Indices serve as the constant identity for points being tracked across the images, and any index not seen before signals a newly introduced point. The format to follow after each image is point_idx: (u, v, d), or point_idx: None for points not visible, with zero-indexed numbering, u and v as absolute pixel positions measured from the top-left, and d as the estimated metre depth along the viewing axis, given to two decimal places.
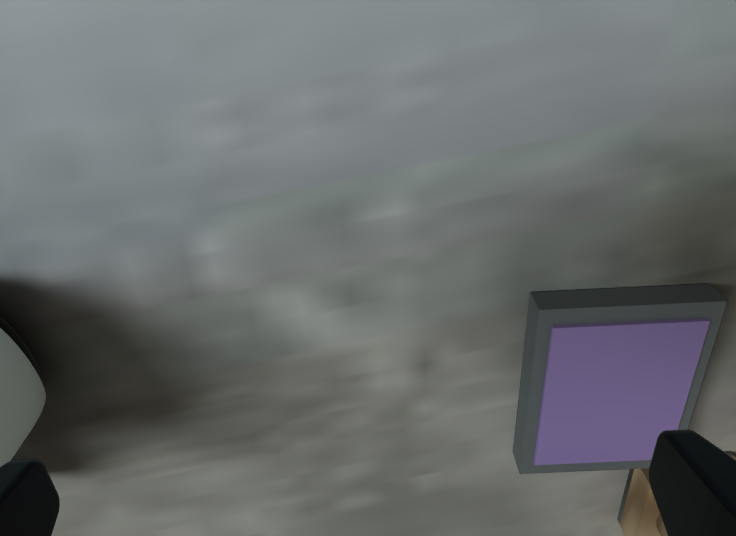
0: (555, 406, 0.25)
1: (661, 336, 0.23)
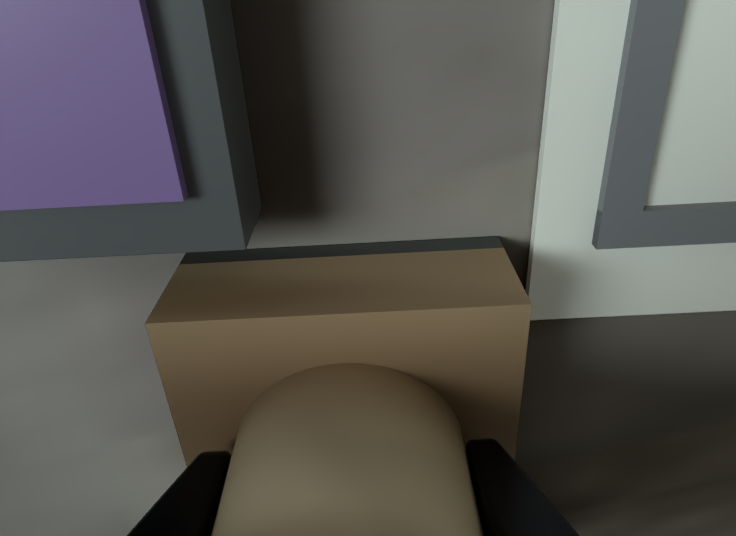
0: None
1: None
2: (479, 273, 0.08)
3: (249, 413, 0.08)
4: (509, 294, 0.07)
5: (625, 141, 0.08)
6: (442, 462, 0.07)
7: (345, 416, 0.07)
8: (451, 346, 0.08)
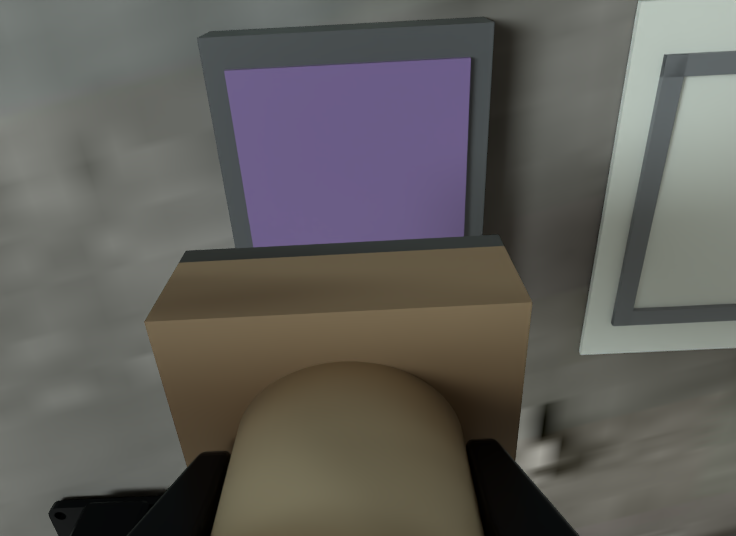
0: (268, 220, 0.17)
1: (399, 88, 0.15)
2: (479, 271, 0.08)
3: (249, 412, 0.08)
4: (510, 292, 0.07)
5: (625, 285, 0.19)
6: (442, 461, 0.07)
7: (345, 414, 0.07)
8: (451, 345, 0.07)
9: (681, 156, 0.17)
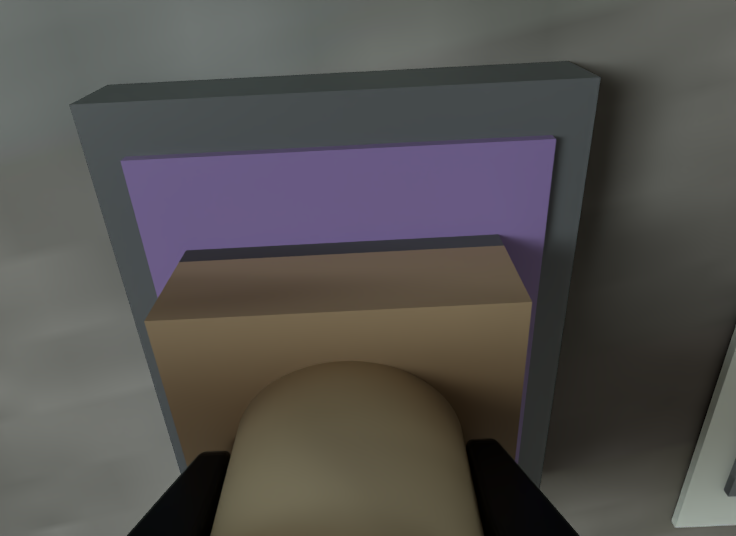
0: None
1: (428, 188, 0.09)
2: (479, 271, 0.08)
3: (249, 411, 0.08)
4: (509, 292, 0.07)
5: None
6: (441, 459, 0.07)
7: (345, 414, 0.07)
8: (452, 344, 0.07)
9: None
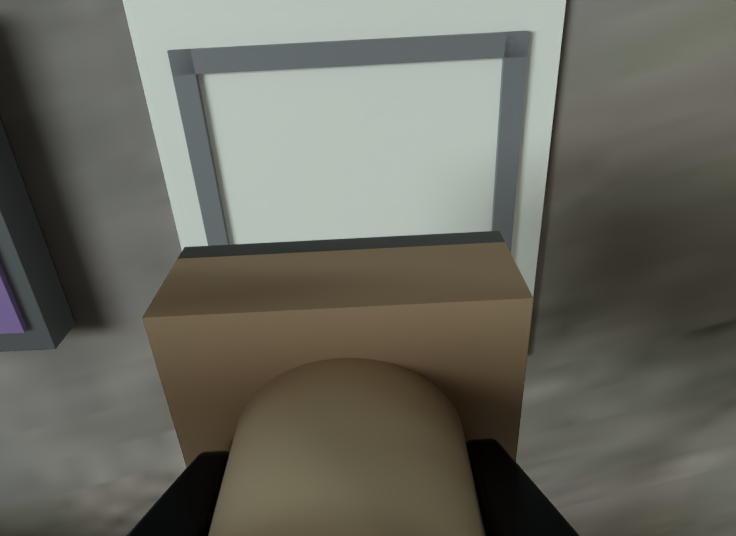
0: None
1: None
2: (479, 267, 0.08)
3: (248, 408, 0.08)
4: (510, 288, 0.07)
5: None
6: (442, 457, 0.07)
7: (345, 411, 0.07)
8: (452, 341, 0.07)
9: (233, 160, 0.16)
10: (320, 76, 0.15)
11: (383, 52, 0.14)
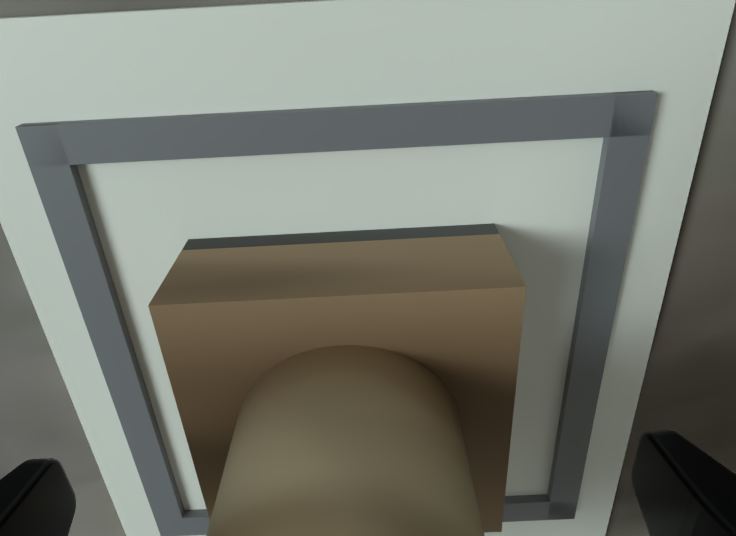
0: None
1: None
2: (475, 258, 0.08)
3: (250, 394, 0.08)
4: (504, 277, 0.08)
5: (150, 484, 0.12)
6: (437, 438, 0.07)
7: (343, 394, 0.07)
8: (447, 327, 0.08)
9: (150, 294, 0.10)
10: (288, 166, 0.09)
11: (398, 128, 0.08)
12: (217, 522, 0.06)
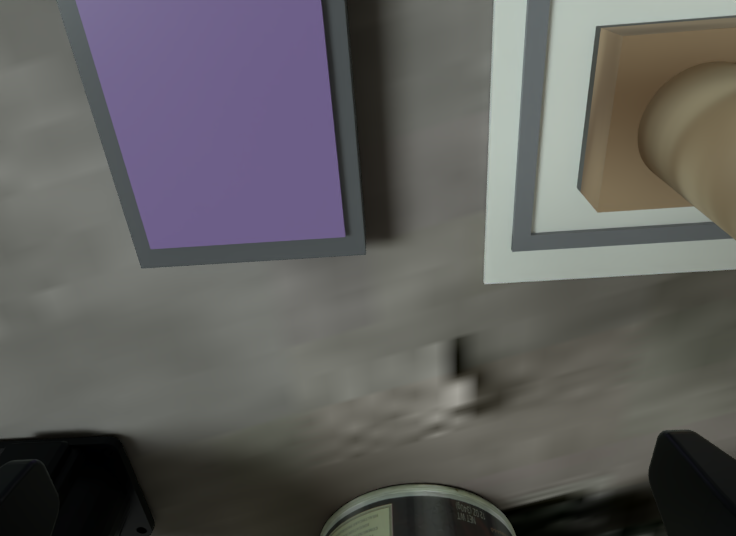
0: (136, 136, 0.16)
1: None
2: None
3: (662, 91, 0.15)
4: None
5: (519, 207, 0.19)
6: None
7: None
8: None
9: (562, 64, 0.17)
10: None
11: None
12: (699, 112, 0.13)
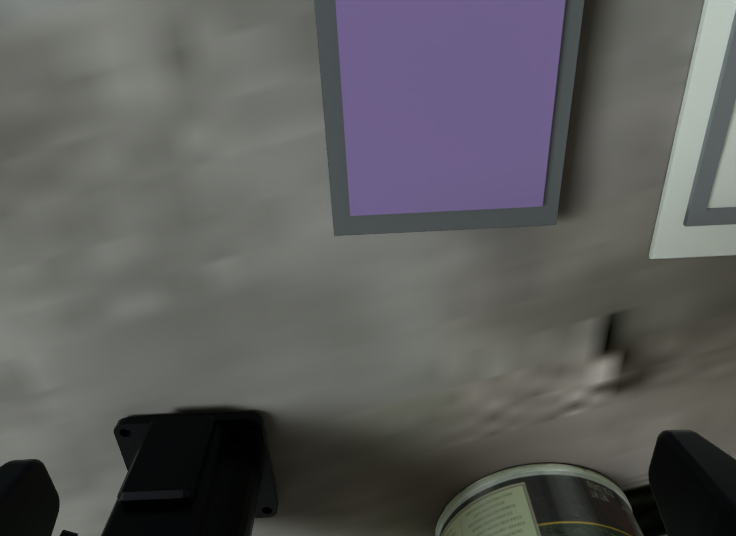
0: (361, 101, 0.17)
1: None
2: None
3: None
4: None
5: (701, 182, 0.20)
6: None
7: None
8: None
9: None
10: None
11: None
12: None
